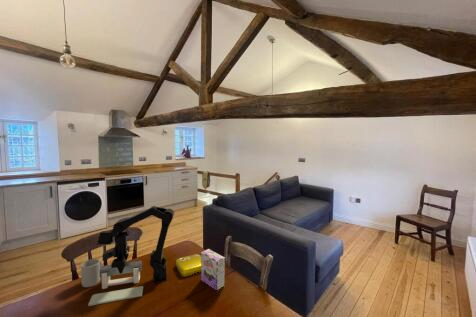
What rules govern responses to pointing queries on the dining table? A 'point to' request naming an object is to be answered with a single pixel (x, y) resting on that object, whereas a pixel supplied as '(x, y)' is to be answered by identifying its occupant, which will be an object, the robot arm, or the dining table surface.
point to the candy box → (212, 269)
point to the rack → (108, 282)
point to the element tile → (189, 265)
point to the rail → (127, 269)
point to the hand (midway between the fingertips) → (121, 271)
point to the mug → (90, 272)
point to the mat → (116, 295)
